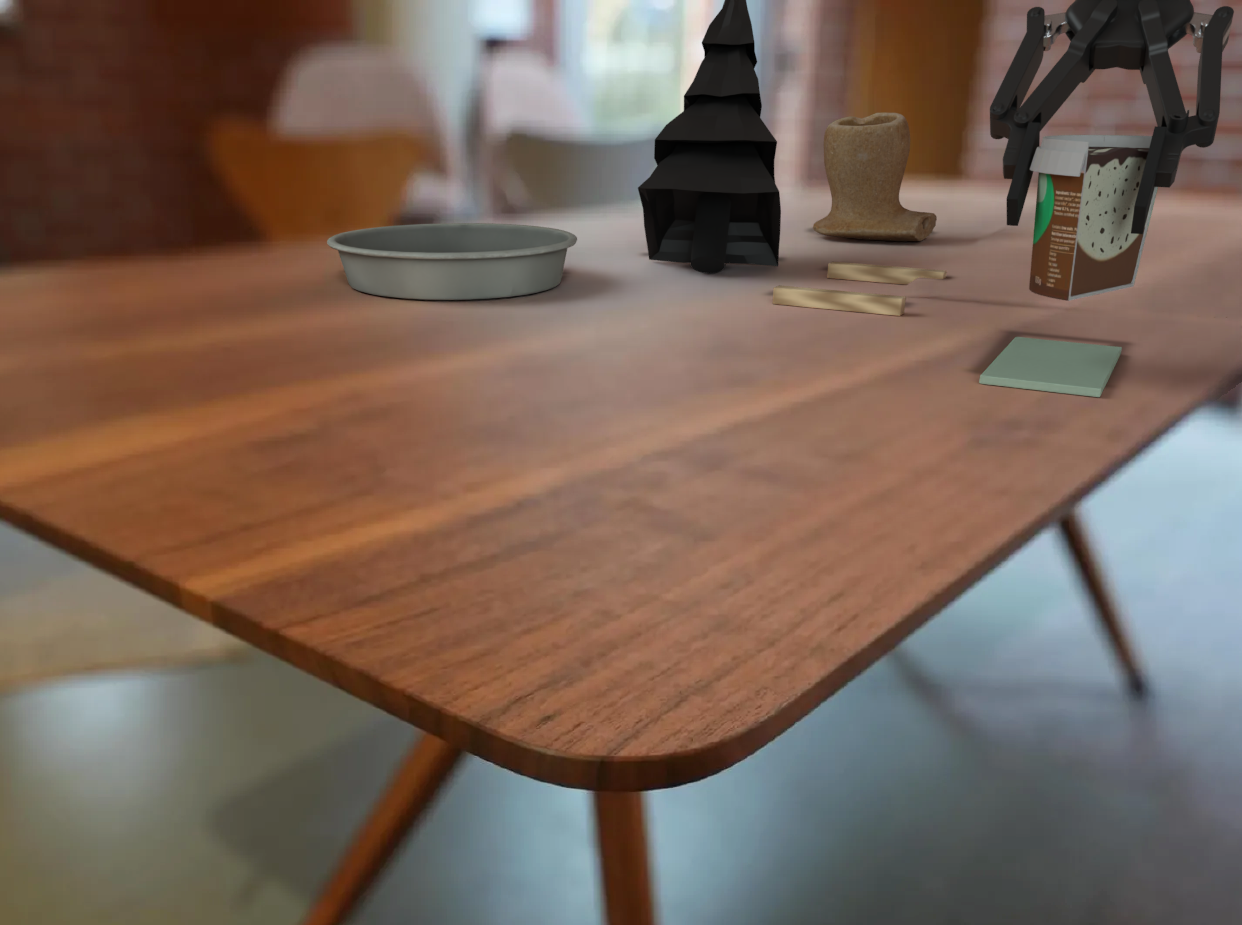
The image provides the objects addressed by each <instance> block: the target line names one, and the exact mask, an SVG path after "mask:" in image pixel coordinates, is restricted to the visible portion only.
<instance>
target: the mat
mask: <svg viewBox="0 0 1242 925" xmlns="http://www.w3.org/2000/svg"><path fill="white" fill-rule="evenodd" d="M1122 349H1123V347H1122V346H1116V345H1115V346H1114V345H1104V344H1094V343H1085V342H1074V341H1064V340H1055V339H1043V338H1033V337H1025V336H1015V337H1014V338H1013V339H1012V340H1011V341H1010V343H1008V345H1007V346H1006V347H1005V348H1004V349H1003V350H1002V351H1001V352H1000V353H999V354H998V355H997V357H996V358H995V359H994V360H993V361H992V362H991V363H990V364H989V365H988V366H987V367H986V369H985V370H984V371H983V372H982V373H981V374H979V380H978V384H980V385H989V386H998V387H1006V388H1012V389H1022V390H1031V391H1039V392H1049V393H1057V394H1064V395H1065V394H1067V395H1075V396H1081V397H1082V396H1084V397H1093V398H1101V396H1102V394H1103V392H1104V390H1105V388H1106V385H1107V383H1108V382H1109V379H1110V377H1111V375H1112V374H1113V371H1114V369H1115V367H1116V365H1117V363H1118V361H1119V359H1120V356H1121V354H1122Z"/></svg>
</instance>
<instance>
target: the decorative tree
mask: <svg viewBox="0 0 1242 925" xmlns="http://www.w3.org/2000/svg"><path fill="white" fill-rule="evenodd" d="M754 36H755V35H754V30H753V25H752V20H751V17H750V13H749V8H748V4H747V0H724V1H723V4H722V7H721V9H720V10H719V11H718V13H717V15H716V16H715V17H714V18H713V19H712V20H711V22H710V24H708V27H707V30H706V31H705V34H704V37H703V38H702V41H701V45H702V48H703V51H704V54H703V55H704V58H703V60H701V63H700V65H699V67H698V69H697V72H696V74H695V76H694V78H693V80H692V82H691V83H690V86H689V87H688V88H687V90H686V92H685V93H684V94H683V111H682V112H681V113H679V114H678V115H677V116H675V117H674V118H673V119H672V120H670V121H669V122H668V123H666V124H665V126H664V127H663V128H662V130H661V131H660V132H659V133H658V135H657V136H656V137H655V139H654V147H653V148H654V151H653V152H654V153H653V155H654V156H653V158H654V161H655V163H656V167H655V168H654V170H653V171H652V173H651V174H650V175H649V177H648V178H646V179H645V180H644V181H643V182H642V183H641V184H640V185H639V186H638V187H637V191H638V194H639V199H640V203H641V207H642V216H643V228H644V233H645V240H646V245H647V246H646V248H647V254H648V255H647V256H648V260H650V261H660V262H669V263H679V264H690V267H691V268H692V270H694V271H696V272H698V273H703V274H717V273H719V272H722V271H723V270H724V269H725V266H726V264H736V265H738V264H739V265H740V264H741V265H756V266H770V267H779V259H780V258H779V255H780V254H779V253H780V241H781V220H782V206H781V195H780V190H779V188H778V186H777V184H776V179H775V178H776V177H775V158H776V153H777V147H778V146H777V144H778V141H777V139H776V138H775V136H774V135H773V134H772V133H771V131H770V129H768V127H767V125H766V124H765V122H764V121H763V120H762V118H761V114H762V107H763V104H762V98H761V91H760V83H759V82H760V81H759V78H758V75H757V72H756V70H755V68H756V66H757V64H758V59H757V54H756V50H755V37H754Z"/></svg>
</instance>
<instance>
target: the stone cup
mask: <svg viewBox="0 0 1242 925" xmlns="http://www.w3.org/2000/svg"><path fill="white" fill-rule="evenodd" d="M910 150H911V131H910V126H909V122H908V120H907V118H906V117H905V116H904V115H903V114H901V113H898V112H875V113H873V114H870V115H868V116H864V117H862V118H861V117H857V116H845V117H842V118H839V119H836V120H834V121H832V122H830V124H828V126H827V127H826V129H825V131H824V135H823V164H824V169H825V175H826V178H827V183H828V186H829V191H830V194H831V207H830V211H829V213H827V215H826V216H824V217H822V218H820V219H819V220H817V221H816V222H814V223H813V225H812V229H813V231H814V232H816V233H818V234H819V235H823V236H827V237H828V236H829V237H837V238H847V239H856V240H867V241H888V242H889V241H892V242H921V241H923V240H925V239H926V238H928V237H929V236H930V234H932V233H933V231H934V229H935V227H936V224H937V219H938V218H937V217H938V216H937V215H936V214H935V213H934V212H926V211H915V210H910V209H908V208H905V207H903V205H902V204H901V202H900V190H901V186H902V183H903V180H904V179H903V178H904V175H905V172H906V169H907V165H908V160H909V155H910Z"/></svg>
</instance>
